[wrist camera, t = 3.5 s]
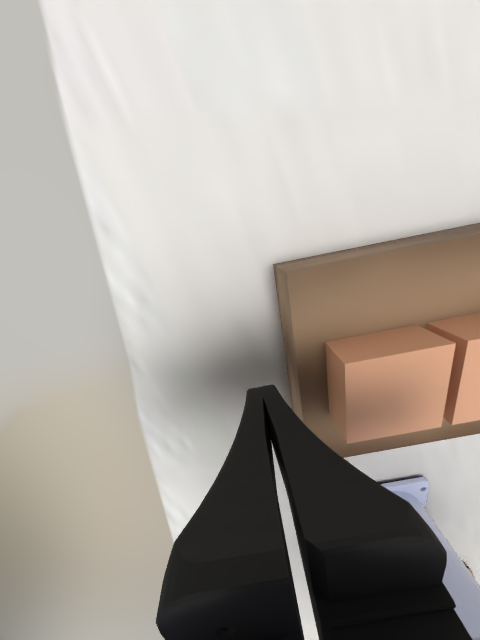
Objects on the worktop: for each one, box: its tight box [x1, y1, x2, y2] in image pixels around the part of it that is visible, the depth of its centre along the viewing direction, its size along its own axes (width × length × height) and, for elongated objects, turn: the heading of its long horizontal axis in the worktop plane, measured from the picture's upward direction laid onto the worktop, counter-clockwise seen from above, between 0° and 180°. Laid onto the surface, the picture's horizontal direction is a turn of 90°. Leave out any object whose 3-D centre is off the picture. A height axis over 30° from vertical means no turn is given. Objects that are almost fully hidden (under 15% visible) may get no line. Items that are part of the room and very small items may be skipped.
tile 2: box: [325, 325, 456, 444], centre depth 11 cm, size 4×4×2 cm
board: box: [273, 223, 480, 458], centre depth 13 cm, size 12×12×3 cm
